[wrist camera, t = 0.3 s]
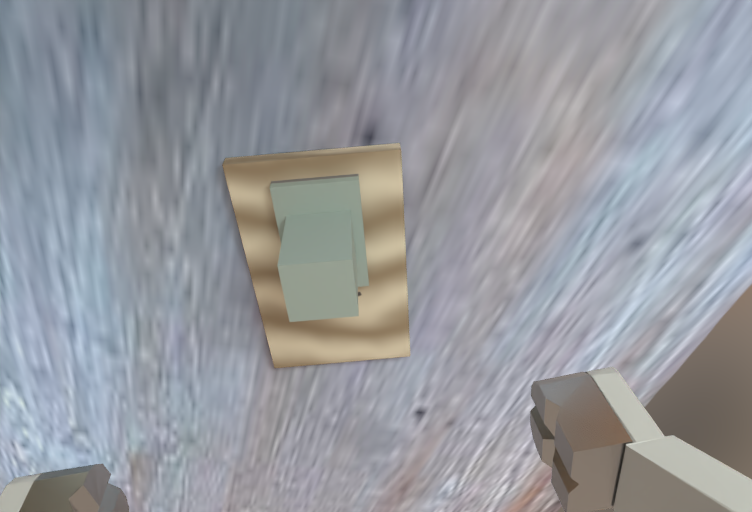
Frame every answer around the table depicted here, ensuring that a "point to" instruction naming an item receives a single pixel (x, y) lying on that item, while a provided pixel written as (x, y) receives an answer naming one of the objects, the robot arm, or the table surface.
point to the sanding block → (320, 245)
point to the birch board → (382, 241)
